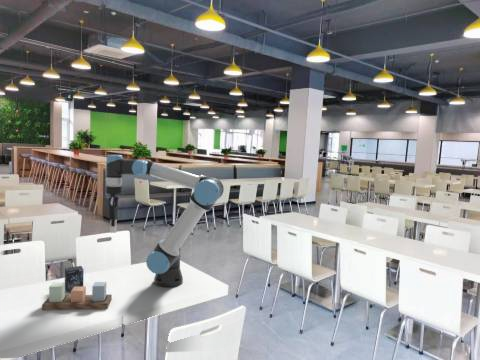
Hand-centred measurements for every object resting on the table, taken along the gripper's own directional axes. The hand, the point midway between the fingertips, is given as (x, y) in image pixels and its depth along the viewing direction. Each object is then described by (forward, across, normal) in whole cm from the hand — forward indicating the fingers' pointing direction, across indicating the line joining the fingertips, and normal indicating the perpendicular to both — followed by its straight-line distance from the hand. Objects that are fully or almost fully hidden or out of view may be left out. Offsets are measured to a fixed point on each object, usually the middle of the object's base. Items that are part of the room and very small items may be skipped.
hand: (113, 232), depth 188 cm
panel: (+28, +21, -11) cm, 37 cm away
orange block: (+28, +21, -11) cm, 37 cm away
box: (+29, +2, -18) cm, 34 cm away
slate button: (+26, +21, -2) cm, 33 cm away
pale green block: (+26, +21, -20) cm, 39 cm away
